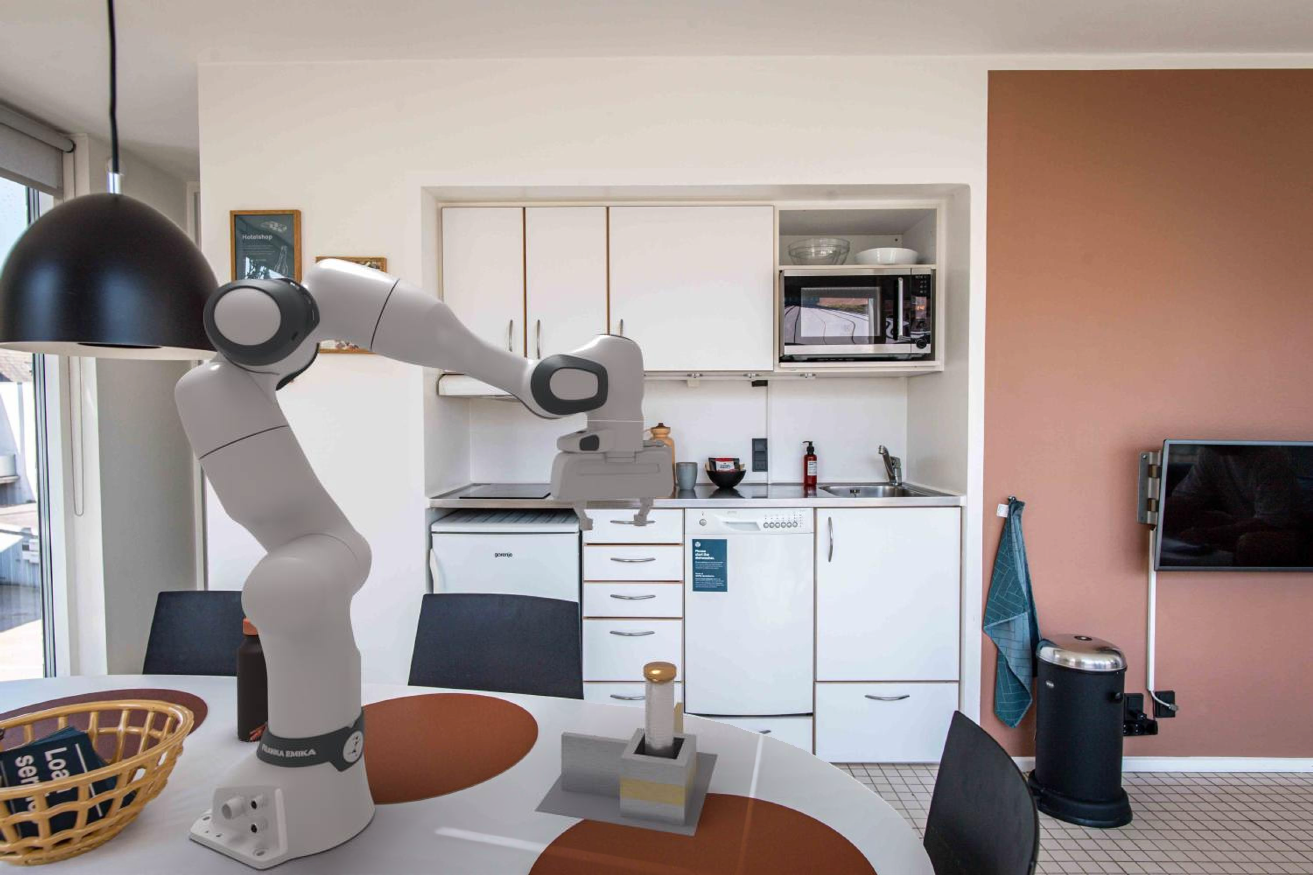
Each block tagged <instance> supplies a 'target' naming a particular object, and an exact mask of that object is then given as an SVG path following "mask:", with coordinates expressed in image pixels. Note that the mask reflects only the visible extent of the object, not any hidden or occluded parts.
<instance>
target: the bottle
mask: <svg viewBox="0 0 1313 875" xmlns="http://www.w3.org/2000/svg"><path fill="white" fill-rule="evenodd" d="M242 633H243V636H244V637H245V639H244V641H243V642H242V643H241V644H240V646H239V647H238V648H237V650H236V697H237V698H236V701H237V702H236V705H237V706H236V707H237V708H236V716H237V718H236V719H237V720H236V722H237V723H236V724H237V726H236V727H237V732H236V734H237V737H238V739H240V740H242V741H244V742H245V741H246V742H255V741H260V740H261V737H262V735H261V736H259V737H257V738H256V739H254V740H252V741H251V740H250V739H251V738H252V737H253V736H254V735H255V734H256V733H258V731H257V732H255V733H253V734H250V733H251V732H252V731H254V730H256V729H258V728H260V727H261V726H263V725H265V722H267V721H268V677H267V667H266V662H265V657H264V653H263V649H262V645H261V642H260V638H259V634H258V631H257V628H256V627H255V626H253V625H252V624H251V622H250V621H249V620H248V619H247V617H245V618H244V619H243V620H242Z"/></svg>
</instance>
